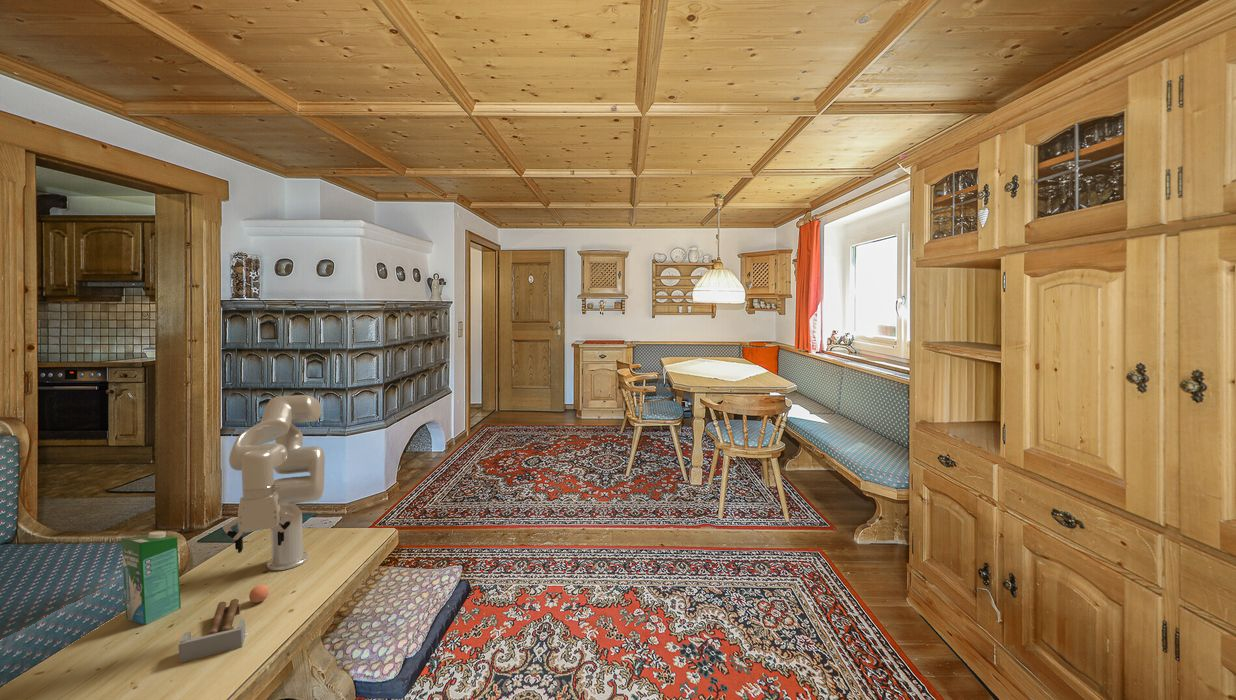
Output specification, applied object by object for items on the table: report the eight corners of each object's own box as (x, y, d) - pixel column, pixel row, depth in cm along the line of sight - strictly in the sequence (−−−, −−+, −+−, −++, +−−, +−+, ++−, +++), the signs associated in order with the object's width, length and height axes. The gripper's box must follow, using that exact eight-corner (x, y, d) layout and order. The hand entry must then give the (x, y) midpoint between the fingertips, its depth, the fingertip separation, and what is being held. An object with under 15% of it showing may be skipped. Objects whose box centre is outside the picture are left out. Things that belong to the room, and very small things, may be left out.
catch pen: (185, 650, 129) (184, 632, 129) (245, 635, 136) (244, 618, 135) (179, 662, 125) (178, 644, 125) (241, 646, 131) (241, 629, 131)
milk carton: (181, 608, 148) (177, 529, 146) (144, 625, 140) (139, 542, 138) (162, 602, 151) (158, 525, 149) (125, 618, 143) (121, 537, 141)
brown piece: (217, 616, 144) (216, 602, 144) (240, 610, 147) (240, 597, 147) (206, 639, 134) (205, 624, 134) (231, 633, 137) (231, 618, 136)
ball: (251, 599, 153) (250, 584, 153) (270, 595, 156) (269, 580, 155) (248, 607, 149) (247, 592, 148) (267, 603, 151) (267, 588, 151)
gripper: (294, 483, 150) (296, 536, 151) (224, 492, 142) (226, 548, 143) (292, 491, 144) (293, 546, 145) (218, 501, 135) (221, 559, 136)
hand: (260, 547), depth 144 cm, fingers open, 9 cm apart
